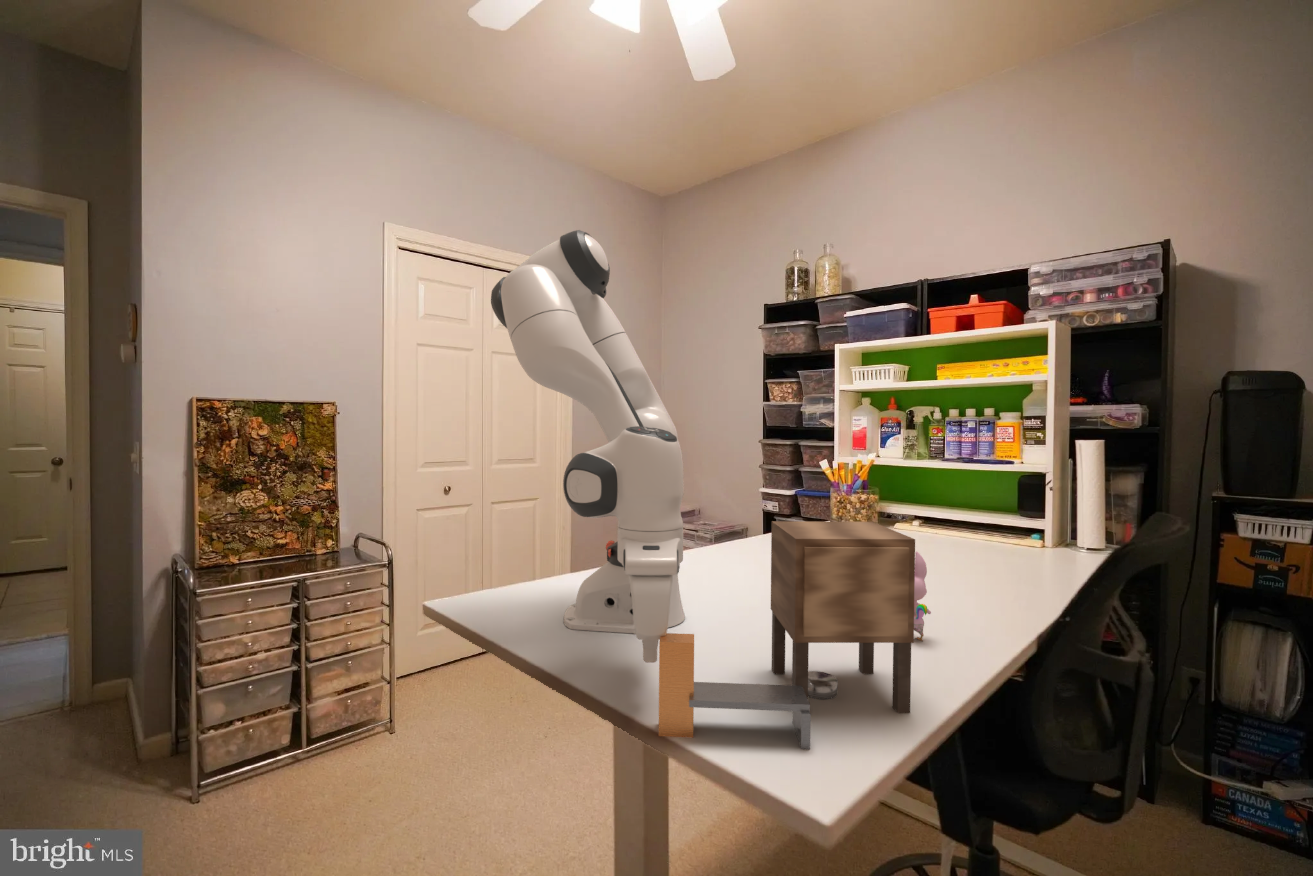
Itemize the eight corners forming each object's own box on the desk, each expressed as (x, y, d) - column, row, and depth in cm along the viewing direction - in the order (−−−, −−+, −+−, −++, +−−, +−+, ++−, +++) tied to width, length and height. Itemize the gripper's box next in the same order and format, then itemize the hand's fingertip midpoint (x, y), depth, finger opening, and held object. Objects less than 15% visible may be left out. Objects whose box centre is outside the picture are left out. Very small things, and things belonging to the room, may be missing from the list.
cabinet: (795, 716, 75) (797, 539, 74) (769, 669, 89) (771, 521, 89) (914, 716, 75) (917, 540, 75) (870, 669, 90) (872, 521, 89)
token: (805, 701, 79) (805, 686, 79) (795, 685, 84) (795, 671, 84) (842, 701, 80) (842, 686, 80) (830, 685, 85) (830, 671, 84)
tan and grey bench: (657, 743, 68) (658, 646, 68) (660, 717, 74) (661, 628, 74) (810, 749, 67) (811, 651, 67) (800, 723, 73) (801, 633, 73)
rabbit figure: (922, 635, 105) (924, 549, 104) (943, 647, 99) (945, 556, 99) (888, 636, 104) (890, 549, 104) (907, 649, 98) (909, 557, 98)
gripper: (628, 534, 91) (627, 624, 92) (624, 564, 71) (624, 681, 71) (670, 534, 92) (669, 624, 92) (678, 564, 71) (677, 681, 71)
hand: (649, 650), depth 81 cm, fingers open, 6 cm apart
